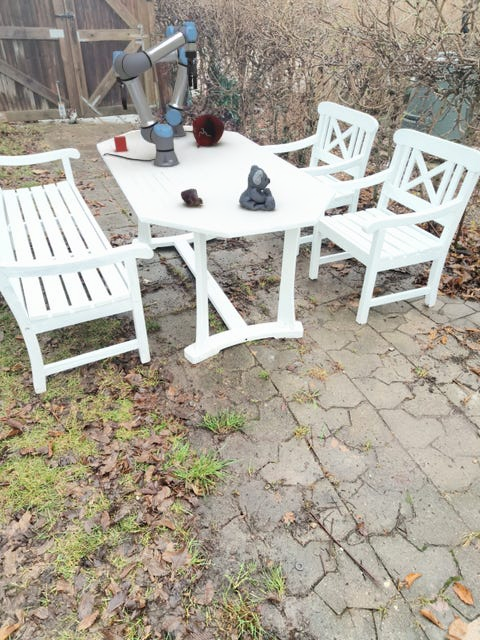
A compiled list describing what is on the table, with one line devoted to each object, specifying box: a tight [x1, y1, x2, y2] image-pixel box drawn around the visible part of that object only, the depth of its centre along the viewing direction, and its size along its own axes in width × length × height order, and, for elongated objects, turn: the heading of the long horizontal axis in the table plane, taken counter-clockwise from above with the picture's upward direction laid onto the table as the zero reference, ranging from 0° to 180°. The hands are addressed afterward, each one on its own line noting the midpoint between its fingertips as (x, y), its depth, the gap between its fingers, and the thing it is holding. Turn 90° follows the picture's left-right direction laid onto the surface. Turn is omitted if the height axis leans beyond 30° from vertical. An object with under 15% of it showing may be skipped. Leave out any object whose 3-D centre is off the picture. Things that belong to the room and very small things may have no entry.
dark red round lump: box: [190, 113, 225, 149], centre depth 332 cm, size 21×24×25 cm
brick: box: [113, 135, 128, 153], centre depth 320 cm, size 5×8×9 cm, turn 109°
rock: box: [180, 188, 204, 207], centre depth 229 cm, size 12×9×10 cm
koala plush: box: [238, 164, 276, 211], centre depth 224 cm, size 17×18×20 cm
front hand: (192, 88), depth 298 cm, fingers open, 13 cm apart
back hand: (124, 108), depth 337 cm, fingers open, 13 cm apart
